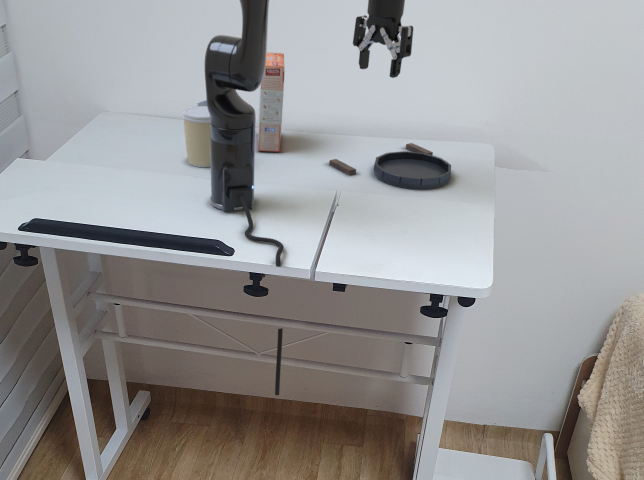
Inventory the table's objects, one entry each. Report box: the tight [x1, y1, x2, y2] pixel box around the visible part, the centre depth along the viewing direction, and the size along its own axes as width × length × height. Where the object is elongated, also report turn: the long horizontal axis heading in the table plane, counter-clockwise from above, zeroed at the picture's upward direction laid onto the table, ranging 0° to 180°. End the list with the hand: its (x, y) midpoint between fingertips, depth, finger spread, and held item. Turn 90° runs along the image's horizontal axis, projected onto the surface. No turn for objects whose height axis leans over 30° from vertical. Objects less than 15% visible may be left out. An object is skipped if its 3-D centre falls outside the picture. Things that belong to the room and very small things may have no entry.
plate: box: [373, 150, 452, 190], centre depth 173 cm, size 18×18×3 cm
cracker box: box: [257, 52, 286, 153], centre depth 182 cm, size 14×6×21 cm, turn 179°
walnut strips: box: [328, 142, 434, 176], centre depth 180 cm, size 8×27×1 cm, turn 123°
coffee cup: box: [182, 105, 211, 168], centre depth 173 cm, size 9×9×12 cm
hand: (378, 72), depth 158 cm, fingers open, 8 cm apart
